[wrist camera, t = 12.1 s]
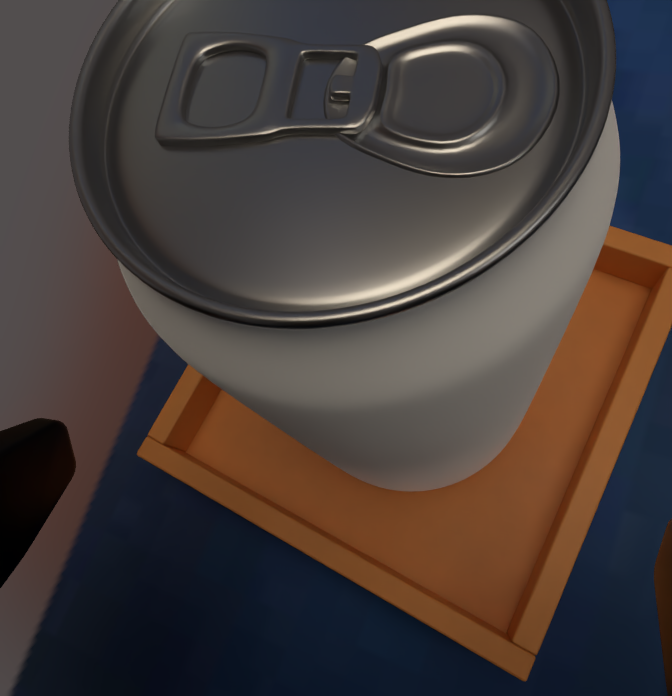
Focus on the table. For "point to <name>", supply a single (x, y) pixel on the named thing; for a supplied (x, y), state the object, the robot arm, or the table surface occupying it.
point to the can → (357, 207)
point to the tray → (462, 497)
